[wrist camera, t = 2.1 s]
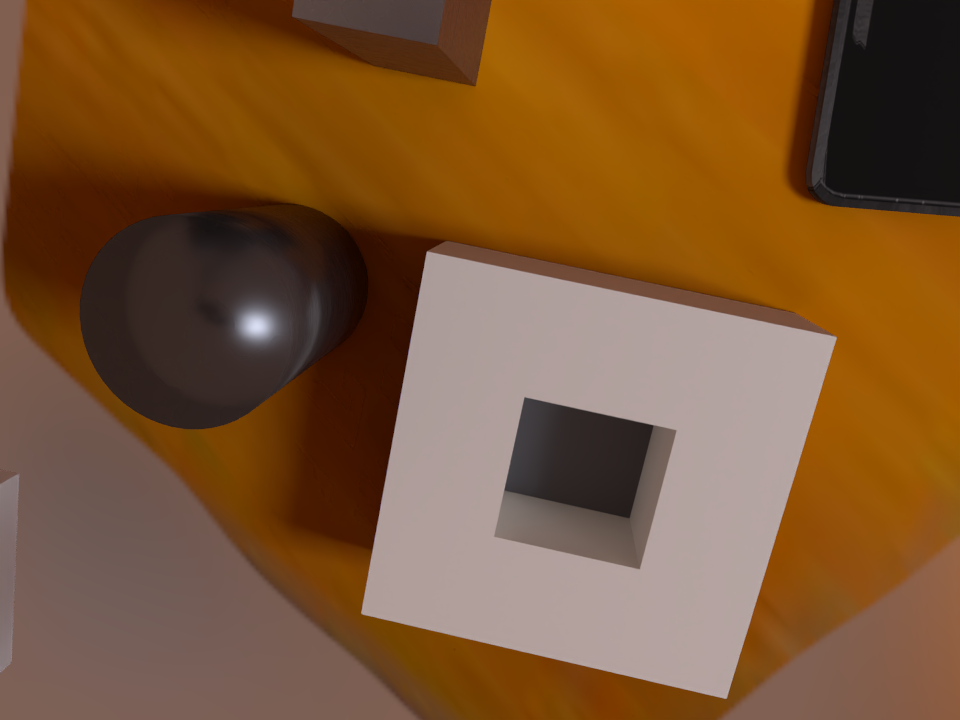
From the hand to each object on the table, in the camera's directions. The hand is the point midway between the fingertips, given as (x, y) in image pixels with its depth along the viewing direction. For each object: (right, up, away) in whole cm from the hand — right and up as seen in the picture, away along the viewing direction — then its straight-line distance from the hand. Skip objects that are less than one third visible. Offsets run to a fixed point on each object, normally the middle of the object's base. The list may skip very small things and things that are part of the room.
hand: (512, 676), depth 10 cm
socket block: (+4, +1, +24) cm, 24 cm away
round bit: (-8, +7, +24) cm, 26 cm away
